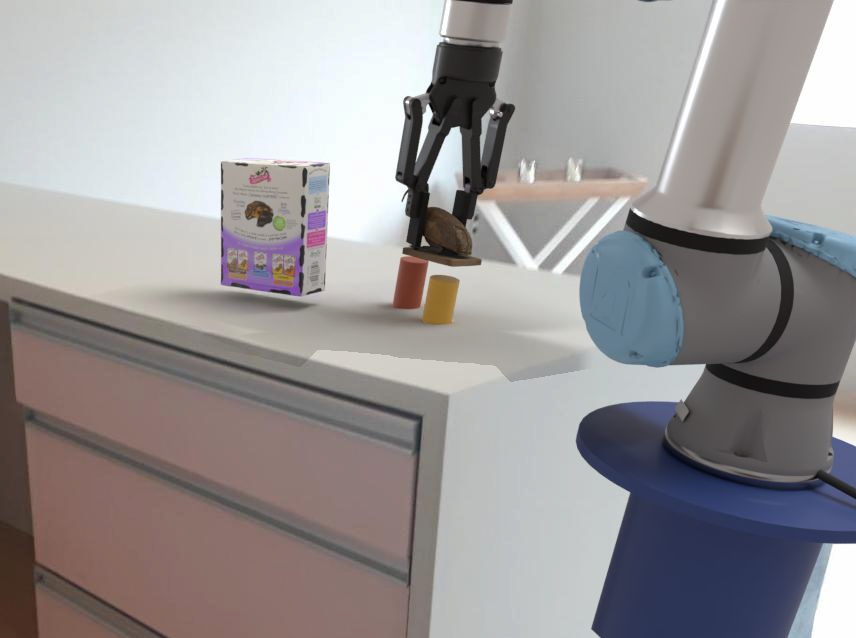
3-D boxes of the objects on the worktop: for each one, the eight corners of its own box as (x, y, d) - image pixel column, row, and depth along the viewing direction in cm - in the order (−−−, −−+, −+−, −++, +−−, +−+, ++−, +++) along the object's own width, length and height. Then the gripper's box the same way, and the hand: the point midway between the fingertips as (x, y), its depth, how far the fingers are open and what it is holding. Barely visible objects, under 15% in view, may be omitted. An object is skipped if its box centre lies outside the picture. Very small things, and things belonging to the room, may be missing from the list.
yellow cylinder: (453, 338, 143) (464, 282, 139) (427, 338, 142) (437, 282, 139) (441, 329, 146) (451, 274, 143) (415, 329, 145) (425, 274, 142)
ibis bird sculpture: (381, 248, 149) (389, 178, 145) (409, 247, 150) (418, 178, 147) (452, 267, 137) (462, 191, 134) (481, 265, 139) (492, 191, 136)
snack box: (327, 291, 152) (332, 161, 146) (300, 298, 148) (305, 165, 142) (245, 278, 161) (247, 155, 154) (218, 285, 157) (219, 159, 150)
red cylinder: (423, 316, 150) (433, 263, 147) (398, 316, 150) (407, 263, 146) (412, 308, 153) (421, 256, 150) (387, 308, 153) (396, 255, 150)
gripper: (524, 44, 138) (485, 239, 148) (386, 34, 134) (355, 235, 144) (556, 50, 131) (513, 253, 142) (412, 40, 127) (378, 250, 138)
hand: (433, 244), depth 143 cm, fingers closed on ibis bird sculpture, 5 cm apart
